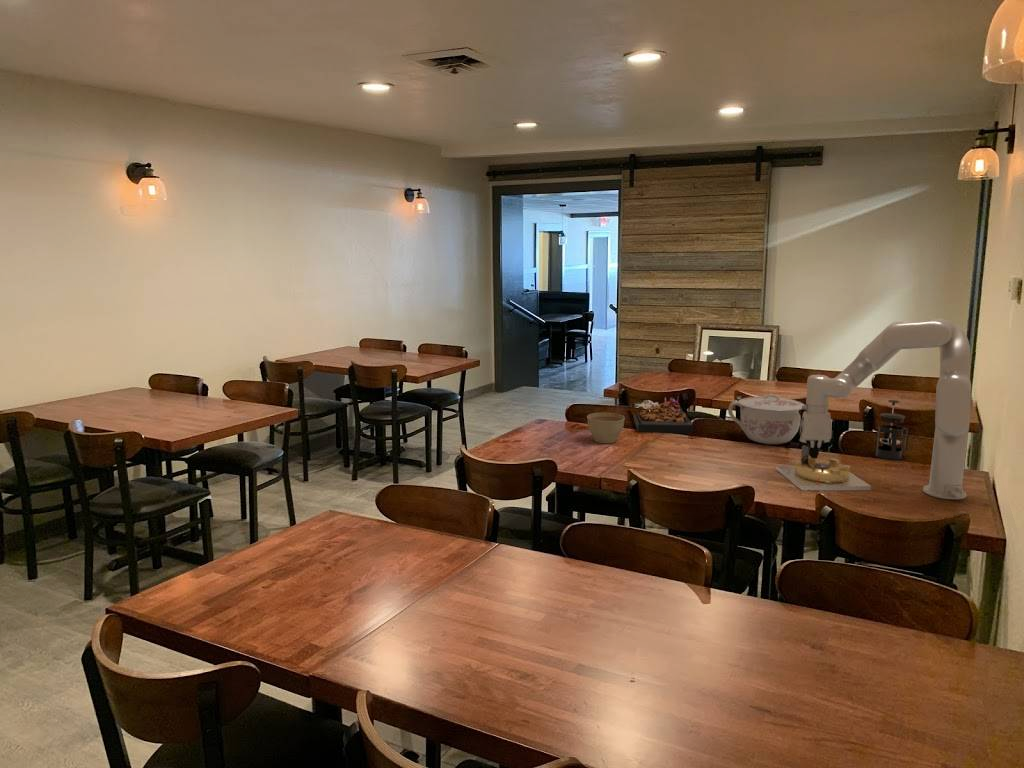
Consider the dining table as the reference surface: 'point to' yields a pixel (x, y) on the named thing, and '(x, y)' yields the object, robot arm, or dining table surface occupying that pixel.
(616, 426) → the planter bowl
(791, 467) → the base plate
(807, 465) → the gold disc with post
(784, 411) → the chamber pot
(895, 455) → the french press
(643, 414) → the food platter
